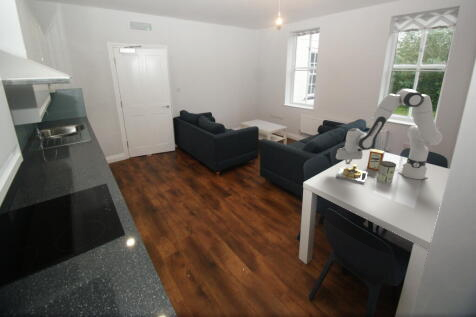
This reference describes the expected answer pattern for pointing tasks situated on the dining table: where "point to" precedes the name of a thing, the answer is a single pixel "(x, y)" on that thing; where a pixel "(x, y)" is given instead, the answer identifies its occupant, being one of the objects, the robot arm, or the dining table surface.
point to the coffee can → (386, 171)
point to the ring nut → (357, 174)
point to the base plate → (353, 179)
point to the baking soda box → (375, 159)
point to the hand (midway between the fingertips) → (347, 164)
